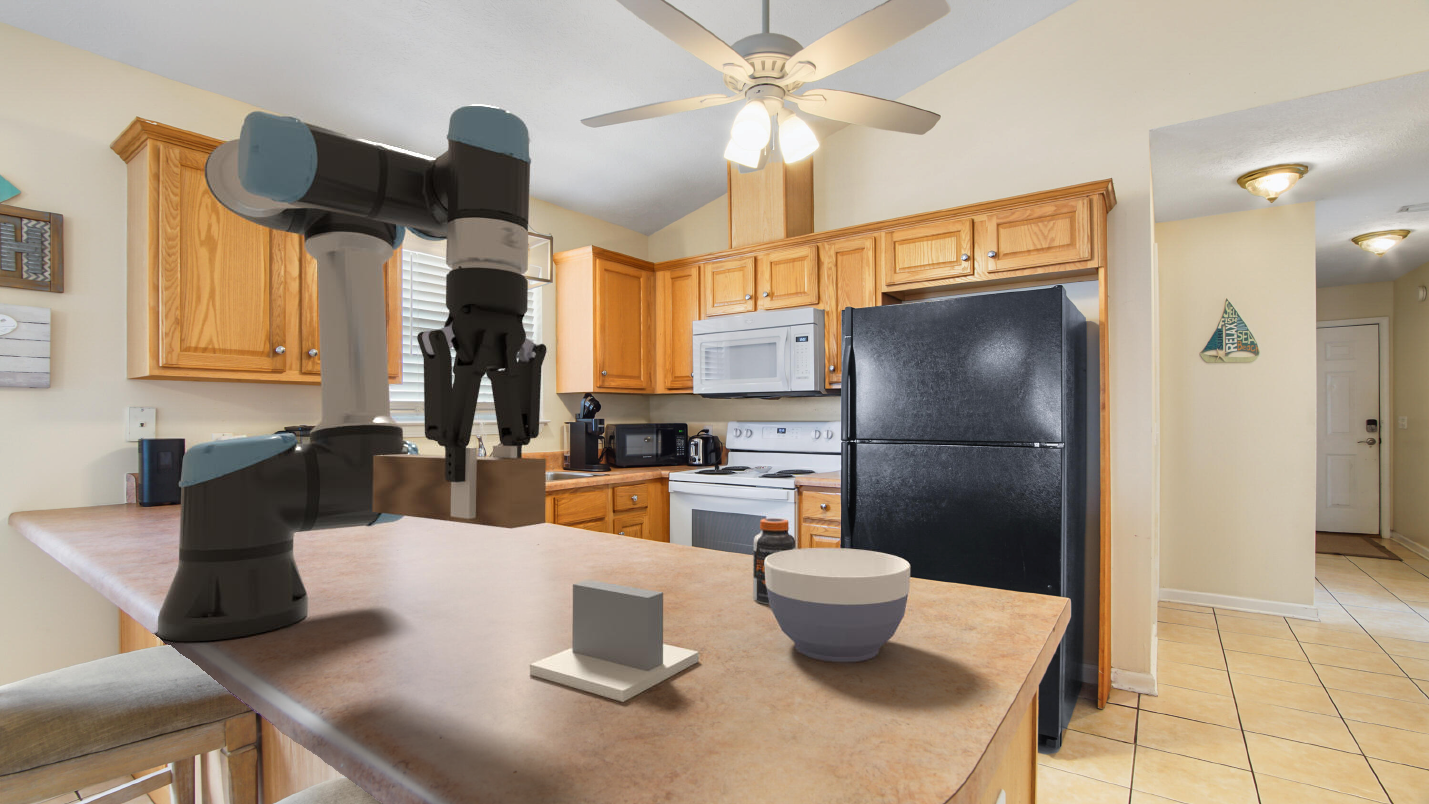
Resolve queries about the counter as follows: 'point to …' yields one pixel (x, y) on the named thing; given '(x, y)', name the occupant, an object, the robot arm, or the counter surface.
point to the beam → (422, 491)
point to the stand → (615, 643)
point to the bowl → (837, 600)
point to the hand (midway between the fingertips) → (484, 513)
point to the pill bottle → (768, 552)
